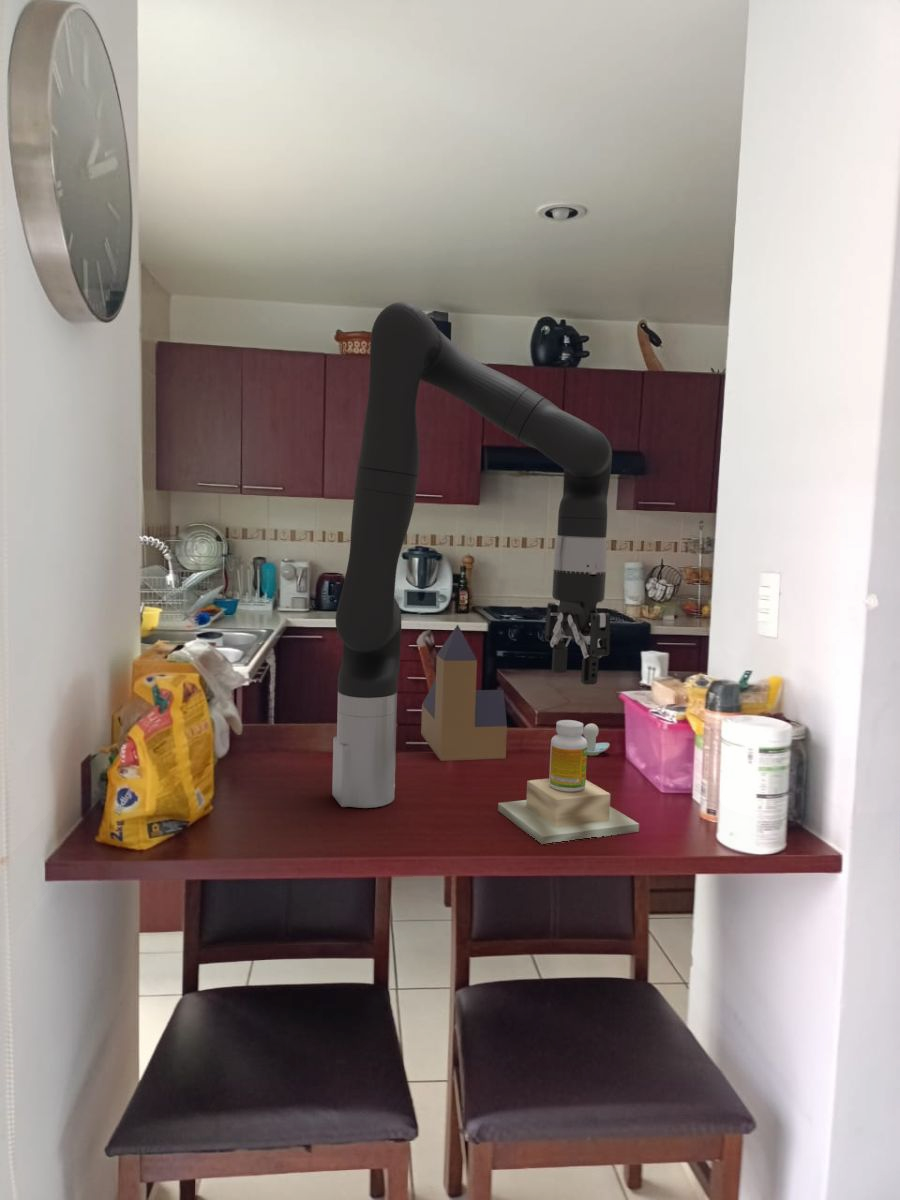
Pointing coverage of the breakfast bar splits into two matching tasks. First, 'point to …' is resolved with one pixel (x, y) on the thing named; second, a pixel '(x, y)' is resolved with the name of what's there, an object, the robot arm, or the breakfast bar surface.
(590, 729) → the pacifier
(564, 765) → the supplement bottle
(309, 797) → the breakfast bar surface
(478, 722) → the toy building blocks
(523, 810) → the pedestal base
